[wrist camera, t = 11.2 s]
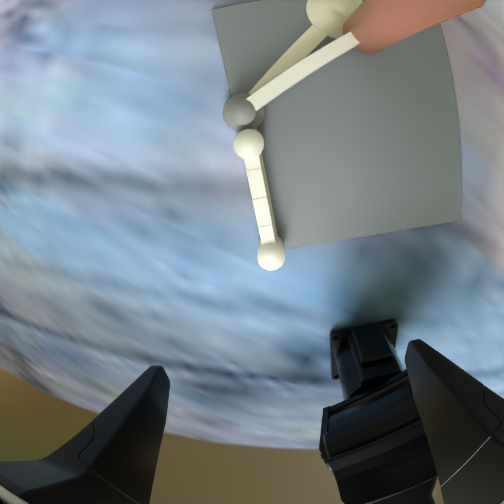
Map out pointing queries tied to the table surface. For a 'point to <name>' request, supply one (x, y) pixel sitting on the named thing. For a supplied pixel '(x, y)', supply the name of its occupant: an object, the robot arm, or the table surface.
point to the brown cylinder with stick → (357, 42)
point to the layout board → (345, 123)
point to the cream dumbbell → (260, 198)
